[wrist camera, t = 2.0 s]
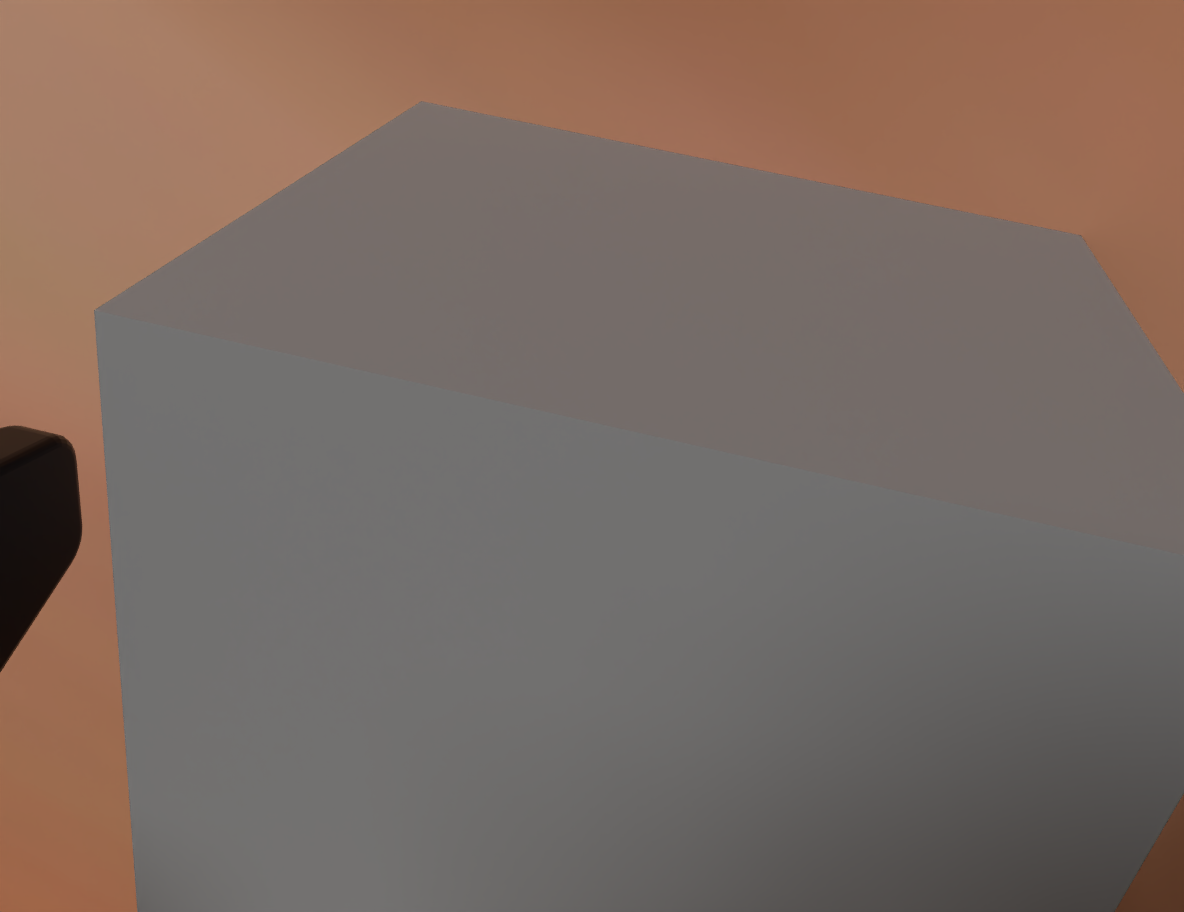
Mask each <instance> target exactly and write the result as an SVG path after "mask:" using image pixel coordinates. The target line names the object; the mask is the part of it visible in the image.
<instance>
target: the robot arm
mask: <svg viewBox="0 0 1184 912" xmlns="http://www.w3.org/2000/svg"><path fill="white" fill-rule="evenodd" d="M81 536H82V517H81V506H80V495H79V483H78V472H77V461H76V455H75V450H74V448H73V446H72V444H71V443H70V442H69V441H68V440H67V439H66V438H65V437H63V436H61V435H57V434H53V433H49V432H44V431H40V430H36V429H32V428H28V427H23V426H7V427H3V428H0V672H1V671H2V669H3V668H4V666H5V664H6V663H7V661H8V660H9V658H10V657H11V655H12V654H13V652H14V651H15V649H16V648H17V646H18V644H19V643H20V641H21V640H22V638H23V637H24V635H25V634H26V632H27V631H28V629H29V628H30V626H31V625H32V623H33V621H34V620H35V618H36V617H37V615H38V614H39V612H40V611H41V609H42V608H43V606H44V605H45V603H46V602H47V600H48V598H49V597H50V595H51V594H52V592H53V591H54V589H55V588H56V586H57V585H58V583H59V582H60V580H61V578H62V577H63V575H64V574H65V572H66V571H67V569H68V568H69V566H70V565H71V563H72V561H73V560H74V558H75V556H76V553H77V551H78V549H79V545H80V542H81Z"/></svg>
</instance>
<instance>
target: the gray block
mask: <svg viewBox="0 0 1184 912" xmlns="http://www.w3.org/2000/svg"><path fill="white" fill-rule="evenodd" d="M94 314H95V328H96V342H97V356H98V370H99V384H100V398H101V412H102V426H103V439H104V453H105V467H106V481H107V495H108V509H109V523H110V537H111V550H112V564H113V578H114V592H115V606H116V620H117V634H118V648H119V662H120V675H121V689H122V703H123V717H124V731H125V745H126V759H127V773H128V787H129V800H130V814H131V828H132V842H133V856H134V870H135V884H136V898H137V911H138V912H1115V910H1116V908H1117V907H1118V905H1119V903H1120V901H1121V900H1122V898H1123V896H1124V895H1125V893H1126V891H1127V889H1128V888H1129V886H1130V884H1131V883H1132V881H1133V879H1134V877H1135V876H1136V874H1137V872H1138V871H1139V869H1140V867H1141V866H1142V864H1143V862H1144V860H1145V859H1146V857H1147V855H1148V854H1149V852H1150V850H1151V848H1152V847H1153V845H1154V843H1155V842H1156V840H1157V838H1158V836H1159V835H1160V833H1161V831H1162V830H1163V828H1164V826H1165V825H1166V823H1167V821H1168V819H1169V818H1170V816H1171V814H1172V813H1173V811H1174V809H1175V807H1176V806H1177V804H1178V802H1179V801H1180V799H1181V797H1182V795H1183V794H1184V393H1183V392H1182V390H1181V389H1180V387H1179V386H1178V384H1177V383H1176V381H1175V379H1174V378H1173V376H1172V375H1171V373H1170V372H1169V370H1168V369H1167V367H1166V366H1165V364H1164V363H1163V361H1162V359H1161V358H1160V356H1159V355H1158V353H1157V352H1156V350H1155V349H1154V347H1153V346H1152V344H1151V343H1150V341H1149V339H1148V338H1147V336H1146V335H1145V333H1144V332H1143V330H1142V329H1141V327H1140V326H1139V324H1138V323H1137V321H1136V319H1135V318H1134V316H1133V315H1132V313H1131V312H1130V310H1129V309H1128V307H1127V306H1126V304H1125V303H1124V301H1123V299H1122V298H1121V296H1120V295H1119V293H1118V292H1117V290H1116V289H1115V287H1114V286H1113V284H1112V283H1111V281H1110V280H1109V278H1108V276H1107V275H1106V273H1105V272H1104V270H1103V269H1102V267H1101V266H1100V264H1099V263H1098V261H1097V260H1096V258H1095V256H1094V255H1093V253H1092V252H1091V250H1090V249H1089V247H1088V246H1087V244H1086V243H1085V241H1084V240H1083V238H1082V236H1081V235H1076V234H1071V233H1066V232H1061V231H1056V230H1051V229H1046V228H1042V227H1037V226H1032V225H1027V224H1022V223H1017V222H1012V221H1007V220H1002V219H997V218H992V217H987V216H983V215H978V214H973V213H968V212H963V211H958V210H953V209H948V208H943V207H938V206H933V205H929V204H924V203H919V202H914V201H909V200H904V199H899V198H894V197H889V196H884V195H879V194H874V193H870V192H865V191H860V190H855V189H850V188H845V187H840V186H835V185H830V184H825V183H820V182H816V181H811V180H806V179H801V178H796V177H791V176H786V175H781V174H776V173H771V172H766V171H761V170H757V169H752V168H747V167H742V166H737V165H732V164H727V163H722V162H717V161H712V160H707V159H703V158H698V157H693V156H688V155H683V154H678V153H673V152H668V151H663V150H658V149H653V148H648V147H644V146H639V145H634V144H629V143H624V142H619V141H614V140H609V139H604V138H599V137H594V136H590V135H585V134H580V133H575V132H570V131H565V130H560V129H555V128H550V127H545V126H540V125H535V124H531V123H526V122H521V121H516V120H511V119H506V118H501V117H496V116H491V115H486V114H481V113H477V112H472V111H467V110H462V109H457V108H452V107H447V106H442V105H437V104H432V103H427V102H422V101H421V102H419V103H418V104H416V105H415V106H413V107H412V108H410V109H408V110H407V111H405V112H404V113H402V114H401V115H399V116H397V117H396V118H394V119H393V120H391V121H390V122H388V123H387V124H385V125H383V126H382V127H380V128H379V129H377V130H376V131H374V132H372V133H371V134H369V135H368V136H366V137H365V138H363V139H361V140H360V141H358V142H357V143H355V144H354V145H352V146H351V147H349V148H347V149H346V150H344V151H343V152H341V153H340V154H338V155H336V156H335V157H333V158H332V159H330V160H329V161H327V162H325V163H324V164H322V165H321V166H319V167H318V168H316V169H315V170H313V171H311V172H310V173H308V174H307V175H305V176H304V177H302V178H300V179H299V180H297V181H296V182H294V183H293V184H291V185H290V186H288V187H286V188H285V189H283V190H282V191H280V192H279V193H277V194H275V195H274V196H272V197H271V198H269V199H268V200H266V201H264V202H263V203H261V204H260V205H258V206H257V207H255V208H254V209H252V210H250V211H249V212H247V213H246V214H244V215H243V216H241V217H239V218H238V219H236V220H235V221H233V222H232V223H230V224H228V225H227V226H225V227H224V228H222V229H221V230H219V231H218V232H216V233H214V234H213V235H211V236H210V237H208V238H207V239H205V240H203V241H202V242H200V243H199V244H197V245H196V246H194V247H192V248H191V249H189V250H188V251H186V252H185V253H183V254H182V255H180V256H178V257H177V258H175V259H174V260H172V261H171V262H169V263H167V264H166V265H164V266H163V267H161V268H160V269H158V270H157V271H155V272H153V273H152V274H150V275H149V276H147V277H146V278H144V279H142V280H141V281H139V282H138V283H136V284H135V285H133V286H131V287H130V288H128V289H127V290H125V291H124V292H122V293H121V294H119V295H117V296H116V297H114V298H113V299H111V300H110V301H108V302H106V303H105V304H103V305H102V306H100V307H99V308H97V309H95V310H94Z"/></svg>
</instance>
